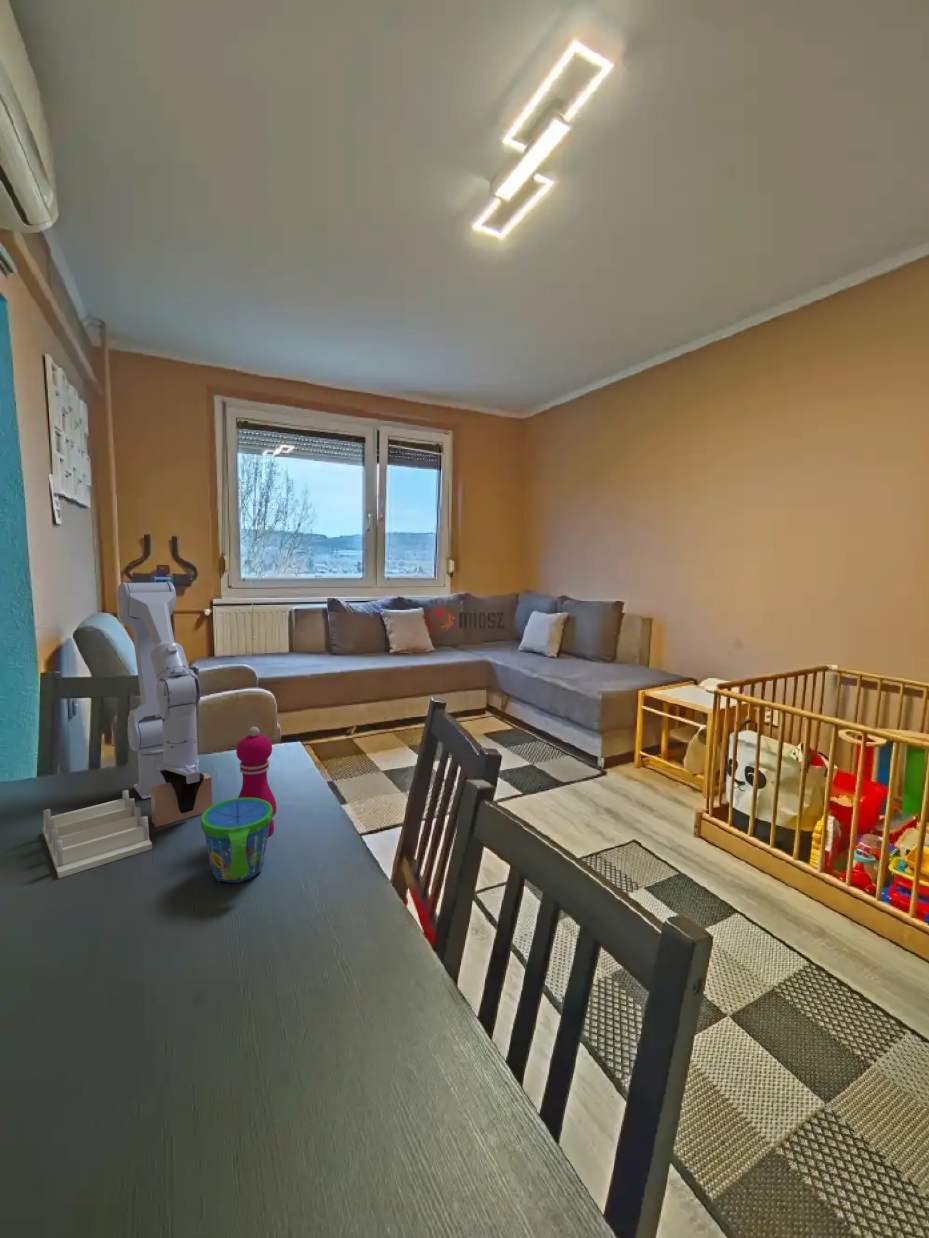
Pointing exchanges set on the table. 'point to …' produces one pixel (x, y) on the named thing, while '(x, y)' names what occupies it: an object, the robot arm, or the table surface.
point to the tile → (167, 804)
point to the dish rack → (95, 835)
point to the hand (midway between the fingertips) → (182, 806)
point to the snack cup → (237, 837)
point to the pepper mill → (256, 768)
